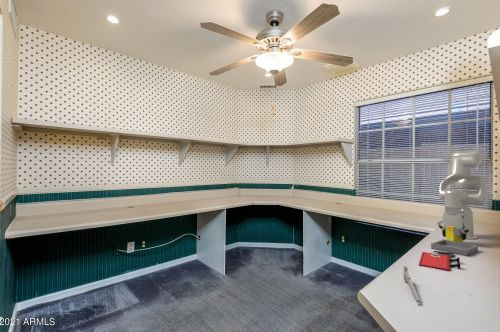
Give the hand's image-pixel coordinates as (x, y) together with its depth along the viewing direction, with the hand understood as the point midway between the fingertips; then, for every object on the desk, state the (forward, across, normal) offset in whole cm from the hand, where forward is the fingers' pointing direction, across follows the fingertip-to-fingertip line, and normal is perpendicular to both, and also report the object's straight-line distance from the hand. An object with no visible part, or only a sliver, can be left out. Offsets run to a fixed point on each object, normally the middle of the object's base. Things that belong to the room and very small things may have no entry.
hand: (454, 238), depth 148 cm
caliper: (+5, -17, +88) cm, 89 cm away
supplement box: (+4, 0, 0) cm, 4 cm away
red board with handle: (+5, -8, +41) cm, 42 cm away
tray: (+4, -5, +15) cm, 16 cm away
